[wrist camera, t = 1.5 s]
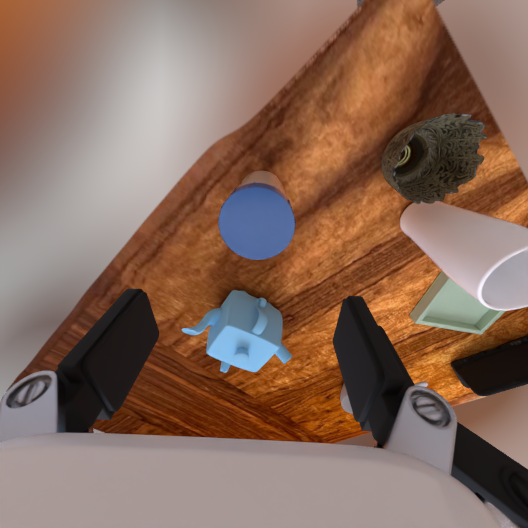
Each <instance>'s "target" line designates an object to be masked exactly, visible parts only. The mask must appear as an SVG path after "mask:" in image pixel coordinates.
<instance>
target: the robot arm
mask: <svg viewBox="0 0 528 528" xmlns="http://www.w3.org/2000/svg"><path fill="white" fill-rule="evenodd" d="M158 337H159V330H158V327H157V324H156V321H155V318H154V315H153V312H152V309H151V305H150V302H149V299H148V296H147V294H146V293H145V292H143V290H142V289H127V290H126V291H125V292H124V293H123V294H122V295H121V296H120V297H119V298H118V299H117V301H116V302H115V303H114V304H113V305H112V306H111V307H110V308H109V309H108V311H107V312H106V313H105V314H104V315H103V316H102V317H101V318H100V319H99V320H98V322H97V323H96V324H95V325H94V326H93V327H92V328H91V329H90V330H89V331H88V333H87V334H86V335H85V336H84V337H83V338H82V339H81V340H80V341H79V343H78V344H77V345H76V346H75V347H74V348H73V349H72V350H71V351H70V352H69V354H68V355H67V356H66V357H65V358H64V359H63V360H62V361H61V362H60V364H59V365H58V369H57V370H56V371H55V373H54V372H53V371H40V372H37V373H34V374H31V375H29V376H27V377H25V378H23V379H22V380H20V381H19V382H17V383H16V384H14V385H13V386H12V387H11V388H10V389H9V390H8V391H7V392H6V393H5V395H4V396H3V397H2V399H1V401H0V528H528V469H526V468H525V467H523V466H522V465H520V464H519V463H517V462H516V461H514V460H513V459H511V458H510V457H509V456H507V455H506V454H504V453H503V452H501V451H500V450H498V449H497V448H495V447H493V446H492V445H491V444H489V443H488V442H486V441H485V440H483V439H482V438H480V437H479V436H478V435H476V434H475V433H473V432H472V431H470V430H469V429H467V428H466V427H464V426H463V425H461V424H460V423H458V422H457V417H456V415H455V412H454V410H453V408H452V407H451V406H450V404H449V403H448V402H447V401H446V400H445V399H444V398H443V397H442V396H441V395H439V394H438V393H436V392H435V391H433V390H431V389H429V388H427V387H424V386H419V385H417V386H415V385H414V383H413V381H412V379H411V378H410V376H409V374H408V372H407V370H406V369H405V367H404V365H403V363H402V361H401V360H400V358H399V356H398V354H397V352H396V351H395V349H394V347H393V345H392V343H391V342H390V340H389V338H388V336H387V334H386V333H385V331H384V329H383V328H382V327H381V326H378V325H377V323H376V322H375V320H374V318H373V316H372V314H371V312H370V310H369V308H368V307H367V305H366V303H365V301H364V299H363V298H362V297H361V296H348V297H347V299H344V300H343V303H342V307H341V311H340V314H339V318H338V322H337V326H336V330H335V333H334V337H333V345H334V349H335V352H336V356H337V359H338V363H339V366H340V370H341V373H342V377H343V380H344V384H345V387H346V391H347V394H348V398H349V401H350V405H351V408H352V412H353V415H354V418H355V420H356V422H360V426H361V429H362V431H372V434H373V437H374V439H375V440H376V443H375V446H374V448H373V447H365V446H355V445H340V444H326V443H310V442H290V441H270V440H250V439H228V438H206V437H183V436H159V435H134V434H108V433H94V432H93V424H94V422H95V421H96V419H106V420H111V418H112V416H113V415H114V413H115V411H118V410H119V409H120V408H121V406H122V404H123V402H124V400H125V399H126V397H127V395H128V393H129V391H130V389H131V388H132V386H133V384H134V382H135V380H136V378H137V377H138V375H139V373H140V371H141V369H142V367H143V366H144V364H145V362H146V360H147V358H148V356H149V354H150V353H151V351H152V349H153V347H154V345H155V343H156V342H157V340H158Z"/></svg>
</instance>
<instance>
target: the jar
mask: <svg viewBox="0 0 528 528" xmlns="http://www.w3.org/2000/svg"><path fill="white" fill-rule="evenodd" d="M254 182H255V183H265V184H268V185H271V186H273V187H274V186H275V188H277V189H278V190H280V191H281V192H282V193H283V194H284V195H285V191H284V187H283V185H282V183H281V181H280V180H279V179H278V177H276V176H275V175H274V174H272V173H270V172H267V171H255V172H252V173H250V174H248V175H247V176H246V177H245V178H244V179H243V180H242V182H241V183H240V185H239V187H241V186H243V185H245V184H249V183H254ZM239 187H238V188H239Z"/></svg>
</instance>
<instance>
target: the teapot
mask: <svg viewBox="0 0 528 528" xmlns="http://www.w3.org/2000/svg"><path fill="white" fill-rule="evenodd" d="M208 325H211V326H210V329H209V334H208V340H207V350H206V353H207V354H208V355H210V356H212V357H214V358H216V359H219V360H221V361H222V363H221V367H220V371H222V372H227V371H228V369H229V367H230V365H233V366H236V367H239V368H242V369H245V370H248V371H252V372H256V371H258V370H259V369H260V368H261V367H262V366H263V365H264V364H265V363H266V362H267V361H268V360H269V359H270V358H271V357H272V356H273V355H274V354H276V355H277V356H278V357H279V359H280V360H281V361H282V362H283V363H284V364H285V363H286V362H287V361H288V360H289V359H290V358H291V357H292V355H291V354H290V352H289V351H288V350H287V349H286V348H285V346H284V345H283V344H282V343H281V337H282V315H281V313H280V311H279V310H277V309H276V308H274V307H273V306H272V305H271V304H270V303H268V302H267V301H266V299H264V298H259V299H257V298H255V297H253V296H251V295H248V294H247V292H245V291H242V290H241V291H237V290H233V291H232V292H231V293H230V294H229V295H228V297H227V298H226V300H225V301H224V303H223V304H222V305H221V307H220V308H216V309H212V310H210V311H209V312H208V313H207V314H206V315H205V316H204V317H203V318H202V320H201V321H200V323H199V324H198V325H196V326H194V327H191V328H183V329H182V331H183V332H184V333H187V334H190V335H197V334H200V333H202V332H203V331H204V330H205V328H206V327H207V326H208Z"/></svg>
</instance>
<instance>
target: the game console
mask: <svg viewBox="0 0 528 528" xmlns="http://www.w3.org/2000/svg"><path fill="white" fill-rule="evenodd" d="M451 366H452V368H453V370H454V371H455V373H456V375H457V376H458V378H459V380H460V381H461V383H462V384H463V386H465V387H467V388H471V390H472V391H473V392H474V393H475V394H477V395H479V396H489V395H492V394H496V393H499V392H502V391H505V390H509V389H512V388H516V387H519V386H523V385H526V384H528V336H525V337H523V338H520V339H517V340H514V341H512V342H509V343H506V344H503V345H501V346H498V347H496V348H494V349H492V350H488V351H484V352H481V353H478V354H475V355H472V356H469V357H467V358H464V359H461V360H457V361H454V362H452V363H451Z"/></svg>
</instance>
